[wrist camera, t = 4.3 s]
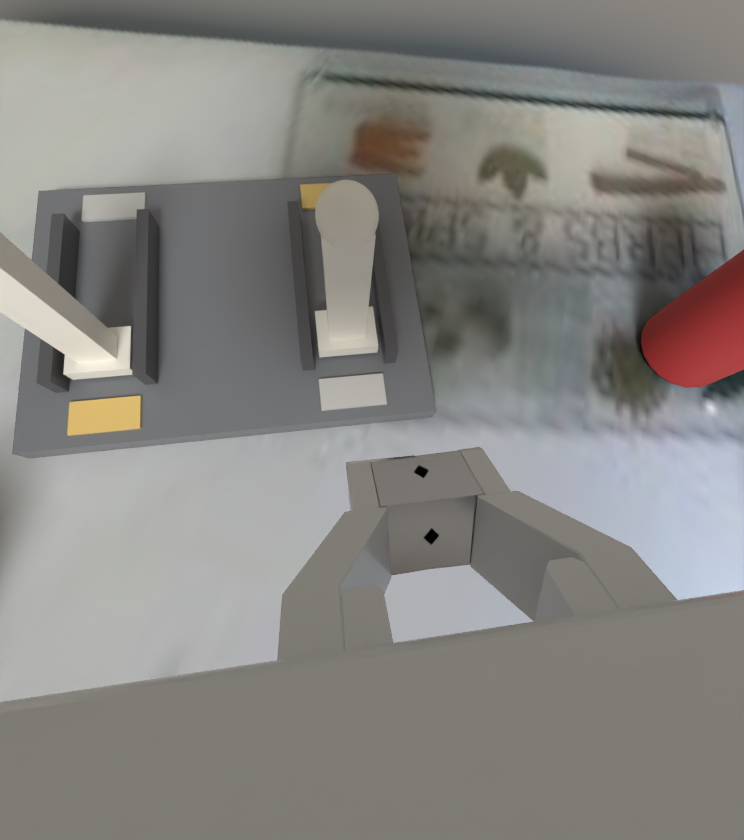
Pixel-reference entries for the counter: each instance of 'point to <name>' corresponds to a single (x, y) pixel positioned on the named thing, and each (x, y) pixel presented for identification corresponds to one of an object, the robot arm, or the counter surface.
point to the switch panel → (215, 317)
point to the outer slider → (347, 269)
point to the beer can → (700, 330)
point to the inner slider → (61, 319)
